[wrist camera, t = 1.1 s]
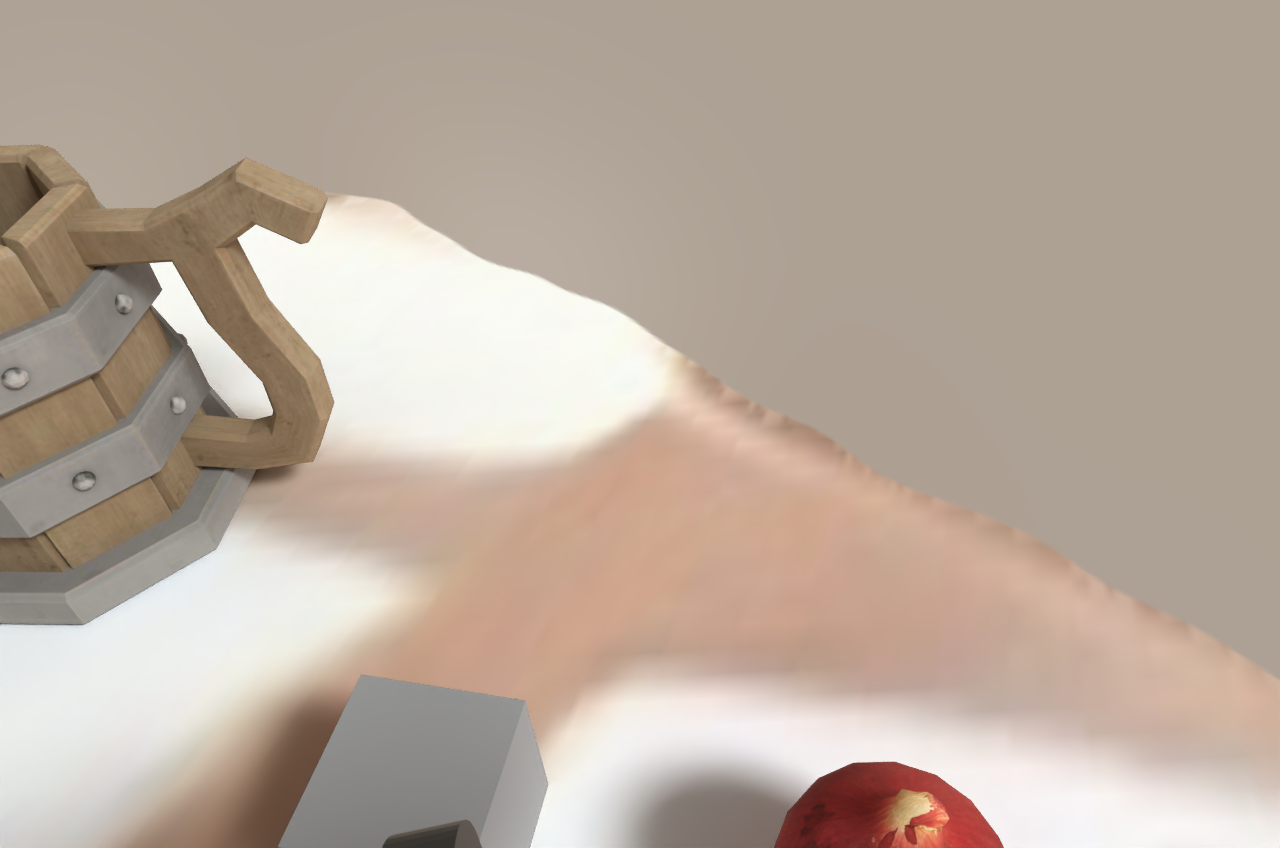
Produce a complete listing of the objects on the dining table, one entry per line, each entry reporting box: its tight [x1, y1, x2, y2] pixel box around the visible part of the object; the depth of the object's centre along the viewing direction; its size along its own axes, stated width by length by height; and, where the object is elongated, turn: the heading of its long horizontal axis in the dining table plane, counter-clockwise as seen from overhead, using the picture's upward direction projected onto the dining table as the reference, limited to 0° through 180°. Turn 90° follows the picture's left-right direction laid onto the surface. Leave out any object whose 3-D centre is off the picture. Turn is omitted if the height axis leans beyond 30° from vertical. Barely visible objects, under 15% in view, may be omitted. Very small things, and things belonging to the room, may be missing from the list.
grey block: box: [278, 675, 548, 848], centre depth 26 cm, size 5×5×5 cm
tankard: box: [0, 145, 334, 624], centre depth 34 cm, size 20×13×15 cm, turn 87°
